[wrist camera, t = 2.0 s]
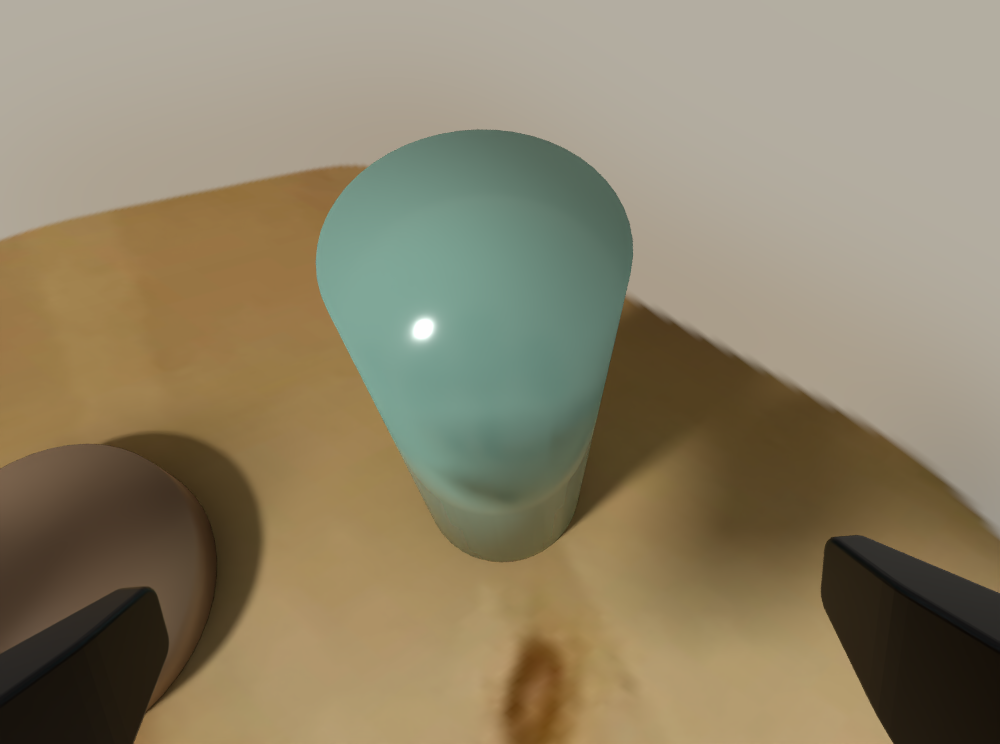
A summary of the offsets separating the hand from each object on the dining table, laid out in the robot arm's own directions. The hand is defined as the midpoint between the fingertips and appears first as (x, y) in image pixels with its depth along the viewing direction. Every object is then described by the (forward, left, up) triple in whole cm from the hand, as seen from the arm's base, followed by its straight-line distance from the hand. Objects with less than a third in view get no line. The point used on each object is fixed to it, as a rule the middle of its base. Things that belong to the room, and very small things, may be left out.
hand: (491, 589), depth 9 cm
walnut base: (+11, +9, -12) cm, 18 cm away
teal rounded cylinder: (+4, -3, -12) cm, 13 cm away
